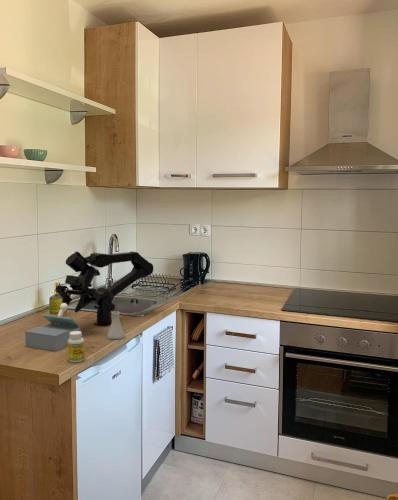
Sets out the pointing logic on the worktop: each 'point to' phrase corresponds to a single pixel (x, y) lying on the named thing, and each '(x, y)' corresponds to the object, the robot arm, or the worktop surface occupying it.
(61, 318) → the near flap
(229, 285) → the worktop surface
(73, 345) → the supplement bottle
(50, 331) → the carton
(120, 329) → the flask
